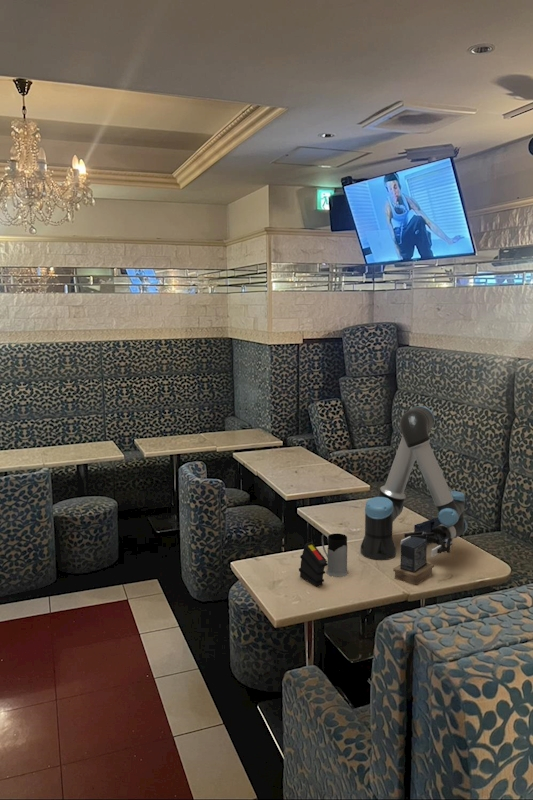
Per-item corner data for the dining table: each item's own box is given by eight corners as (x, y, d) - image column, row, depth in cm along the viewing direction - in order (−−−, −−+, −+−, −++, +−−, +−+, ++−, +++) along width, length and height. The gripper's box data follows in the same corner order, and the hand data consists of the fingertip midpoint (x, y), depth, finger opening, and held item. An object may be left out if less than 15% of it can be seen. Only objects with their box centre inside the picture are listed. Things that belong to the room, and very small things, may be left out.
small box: (412, 560, 250) (413, 535, 248) (427, 564, 246) (428, 539, 244) (399, 568, 242) (400, 543, 241) (414, 573, 238) (415, 547, 236)
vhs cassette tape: (439, 536, 286) (439, 516, 284) (444, 538, 283) (445, 517, 282) (412, 546, 275) (413, 524, 273) (417, 548, 273) (418, 526, 271)
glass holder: (335, 579, 242) (336, 542, 240) (313, 566, 254) (313, 531, 252) (352, 573, 247) (353, 538, 245) (330, 561, 259) (330, 527, 256)
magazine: (301, 568, 249) (311, 541, 241) (320, 592, 240) (331, 565, 232) (294, 570, 247) (304, 543, 239) (312, 595, 238) (323, 567, 230)
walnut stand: (393, 578, 243) (393, 568, 242) (411, 567, 253) (411, 557, 252) (415, 586, 236) (416, 576, 235) (433, 574, 246) (433, 564, 246)
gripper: (470, 550, 250) (445, 566, 235) (416, 534, 267) (389, 549, 252) (471, 532, 248) (445, 548, 233) (416, 518, 266) (389, 531, 250)
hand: (416, 548), depth 242 cm, fingers open, 13 cm apart
